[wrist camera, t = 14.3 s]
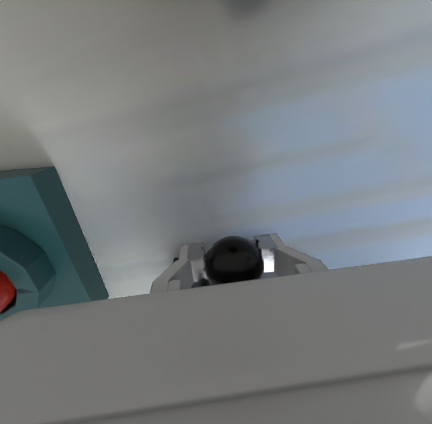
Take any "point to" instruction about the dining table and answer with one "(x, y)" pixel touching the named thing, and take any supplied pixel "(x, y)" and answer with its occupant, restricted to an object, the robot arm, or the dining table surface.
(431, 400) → the robot arm
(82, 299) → the teal base plate
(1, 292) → the button
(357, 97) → the dining table surface
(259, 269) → the lever handle
